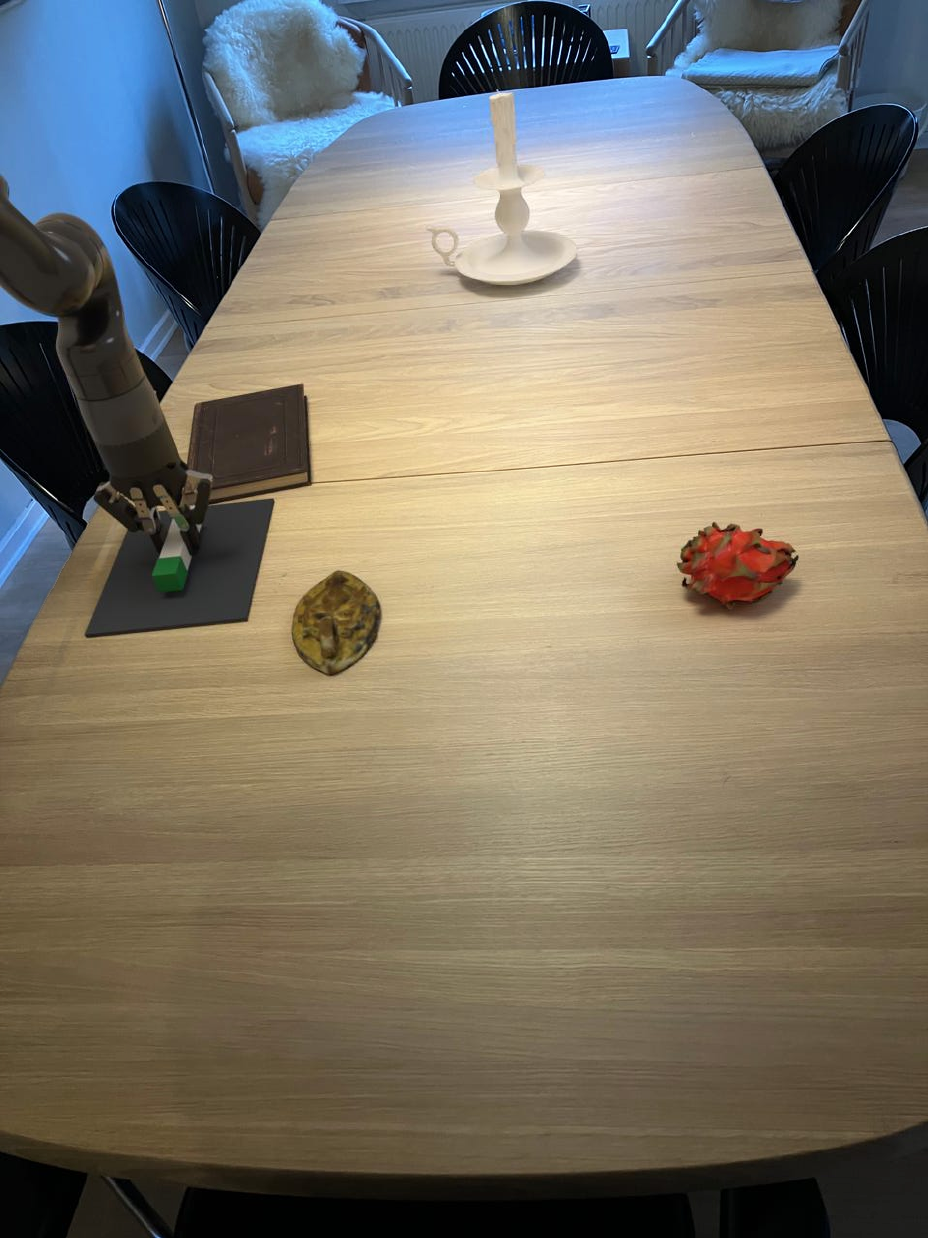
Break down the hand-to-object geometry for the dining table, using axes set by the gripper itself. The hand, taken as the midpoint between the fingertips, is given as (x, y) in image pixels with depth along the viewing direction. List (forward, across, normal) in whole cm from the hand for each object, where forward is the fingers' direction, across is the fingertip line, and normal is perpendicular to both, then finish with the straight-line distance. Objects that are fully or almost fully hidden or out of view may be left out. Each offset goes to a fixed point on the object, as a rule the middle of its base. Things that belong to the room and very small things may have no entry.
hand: (182, 551), depth 107 cm
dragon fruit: (+2, -60, +14) cm, 62 cm away
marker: (0, 0, 0) cm, 0 cm away
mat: (+2, 0, 0) cm, 2 cm away
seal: (+2, -19, +13) cm, 23 cm away
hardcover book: (+2, -4, -24) cm, 24 cm away
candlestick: (+2, -41, -71) cm, 82 cm away
